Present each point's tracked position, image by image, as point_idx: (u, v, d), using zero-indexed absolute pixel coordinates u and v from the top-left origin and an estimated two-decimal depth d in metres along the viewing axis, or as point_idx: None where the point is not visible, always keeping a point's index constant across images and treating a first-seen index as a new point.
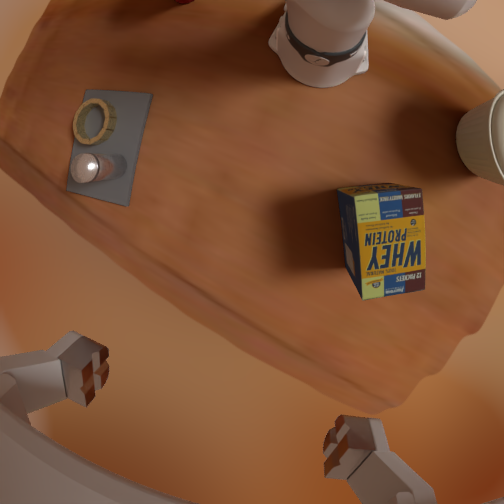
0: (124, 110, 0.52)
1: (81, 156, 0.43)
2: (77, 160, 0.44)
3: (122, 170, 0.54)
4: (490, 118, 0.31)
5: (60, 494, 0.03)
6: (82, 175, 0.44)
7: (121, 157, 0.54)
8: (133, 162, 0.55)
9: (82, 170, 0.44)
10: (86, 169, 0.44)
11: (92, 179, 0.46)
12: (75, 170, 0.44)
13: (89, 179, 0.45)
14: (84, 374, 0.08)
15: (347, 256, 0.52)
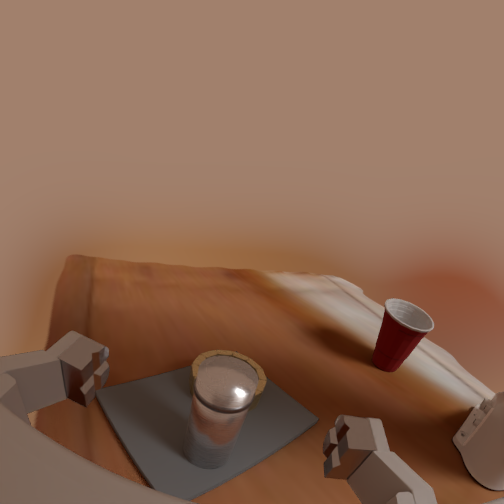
0: (272, 408, 0.36)
1: (242, 364, 0.25)
2: (230, 362, 0.25)
3: (221, 460, 0.25)
4: None
5: (60, 494, 0.03)
6: (222, 382, 0.22)
7: None
8: (239, 469, 0.26)
9: (228, 378, 0.23)
10: (238, 383, 0.23)
11: (223, 407, 0.21)
12: (213, 367, 0.24)
13: (225, 399, 0.21)
14: (84, 374, 0.08)
15: None
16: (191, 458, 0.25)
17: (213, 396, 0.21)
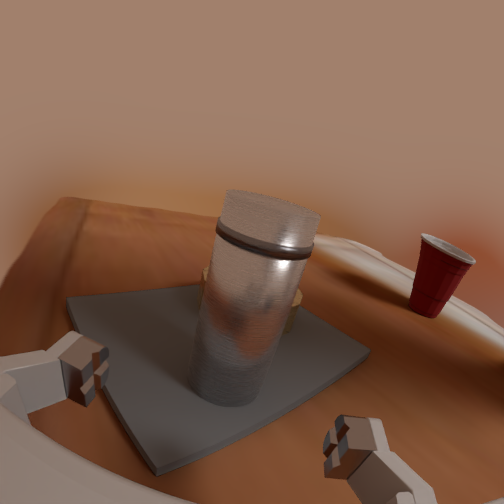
0: (310, 335, 0.28)
1: (291, 203, 0.17)
2: (273, 198, 0.17)
3: (251, 387, 0.17)
4: None
5: (60, 494, 0.03)
6: (266, 203, 0.15)
7: None
8: (276, 407, 0.18)
9: (275, 203, 0.15)
10: (291, 209, 0.15)
11: (269, 241, 0.14)
12: (248, 194, 0.16)
13: (275, 222, 0.13)
14: (84, 374, 0.08)
15: None
16: (200, 385, 0.17)
17: (254, 218, 0.14)
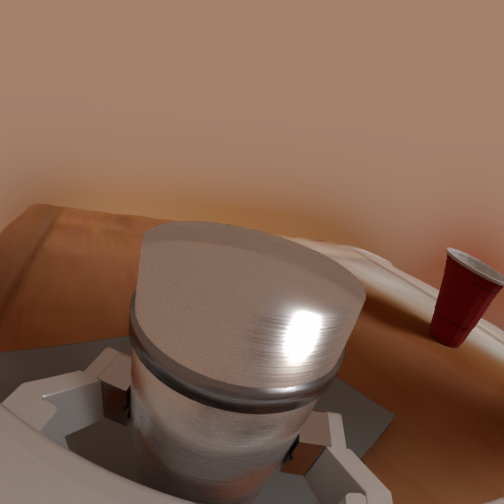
0: (317, 403, 0.19)
1: (296, 247, 0.08)
2: (258, 238, 0.08)
3: None
4: None
5: (60, 494, 0.03)
6: (234, 269, 0.06)
7: None
8: None
9: (258, 264, 0.06)
10: (299, 281, 0.06)
11: (238, 384, 0.05)
12: (201, 235, 0.07)
13: (253, 341, 0.05)
14: (128, 394, 0.07)
15: None
16: None
17: (193, 325, 0.05)
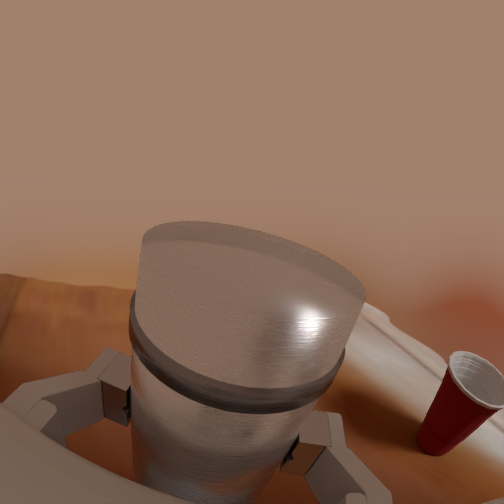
0: None
1: (296, 247, 0.08)
2: (258, 238, 0.08)
3: None
4: None
5: (60, 494, 0.03)
6: (234, 269, 0.06)
7: None
8: None
9: (258, 264, 0.06)
10: (299, 281, 0.06)
11: (237, 384, 0.05)
12: (201, 235, 0.07)
13: (253, 341, 0.05)
14: (128, 394, 0.07)
15: None
16: None
17: (192, 325, 0.05)
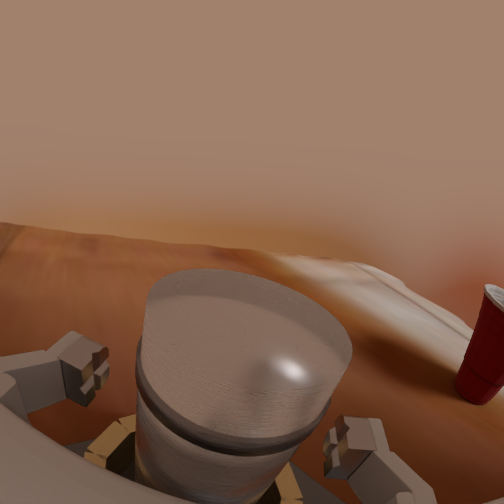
0: None
1: (291, 295, 0.09)
2: (255, 287, 0.09)
3: None
4: None
5: (60, 494, 0.03)
6: (232, 335, 0.06)
7: None
8: None
9: (254, 325, 0.07)
10: (291, 343, 0.06)
11: (234, 436, 0.05)
12: (201, 291, 0.08)
13: (248, 406, 0.05)
14: (84, 374, 0.08)
15: None
16: None
17: (196, 391, 0.05)
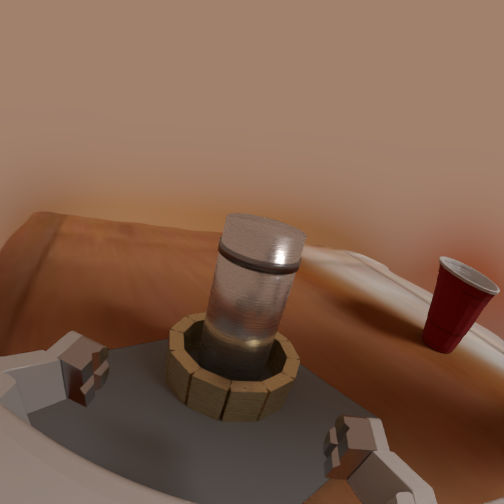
0: (309, 408, 0.20)
1: (282, 224, 0.20)
2: (266, 220, 0.20)
3: None
4: None
5: (60, 494, 0.03)
6: (259, 227, 0.18)
7: None
8: None
9: (267, 227, 0.18)
10: (281, 231, 0.18)
11: (262, 260, 0.17)
12: (245, 218, 0.19)
13: (267, 244, 0.17)
14: (84, 374, 0.08)
15: None
16: None
17: (249, 241, 0.17)
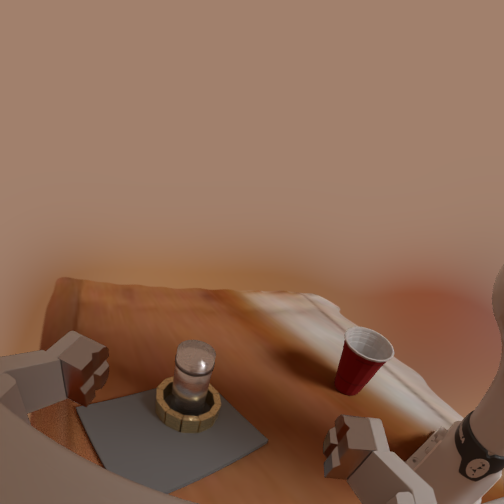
0: (226, 428, 0.39)
1: (207, 346, 0.39)
2: (199, 344, 0.39)
3: (194, 414, 0.39)
4: None
5: (60, 494, 0.03)
6: (191, 355, 0.36)
7: (203, 407, 0.41)
8: (189, 479, 0.29)
9: (196, 354, 0.37)
10: (201, 357, 0.37)
11: (191, 372, 0.35)
12: (187, 346, 0.38)
13: (192, 366, 0.35)
14: (84, 374, 0.08)
15: None
16: None
17: (185, 364, 0.35)
